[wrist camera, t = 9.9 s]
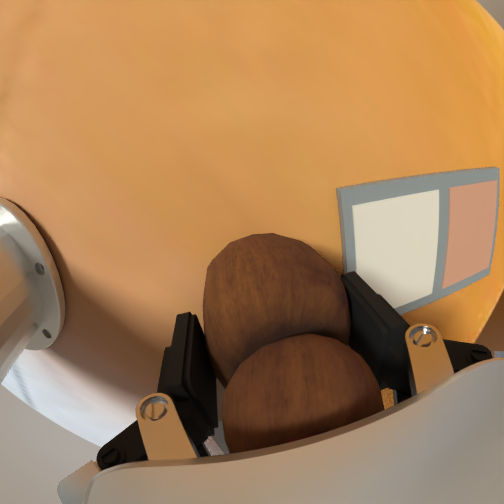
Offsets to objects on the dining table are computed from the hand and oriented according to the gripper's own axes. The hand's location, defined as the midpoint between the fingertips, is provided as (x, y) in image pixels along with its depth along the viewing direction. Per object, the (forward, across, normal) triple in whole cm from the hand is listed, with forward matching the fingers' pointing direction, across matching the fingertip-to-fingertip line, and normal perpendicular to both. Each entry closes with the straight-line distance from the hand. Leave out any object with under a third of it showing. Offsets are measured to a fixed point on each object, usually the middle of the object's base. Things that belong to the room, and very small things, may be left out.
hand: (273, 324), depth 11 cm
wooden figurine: (+5, 0, 0) cm, 5 cm away
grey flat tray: (+5, -13, +1) cm, 14 cm away
